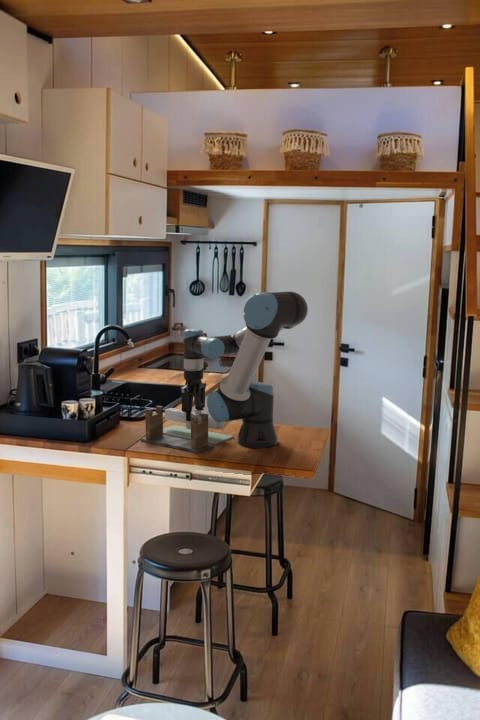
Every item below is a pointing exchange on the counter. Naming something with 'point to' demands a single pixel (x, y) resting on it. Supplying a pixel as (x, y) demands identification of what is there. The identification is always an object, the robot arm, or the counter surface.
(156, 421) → the hook rack
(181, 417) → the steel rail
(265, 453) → the counter surface
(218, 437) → the sage mat
